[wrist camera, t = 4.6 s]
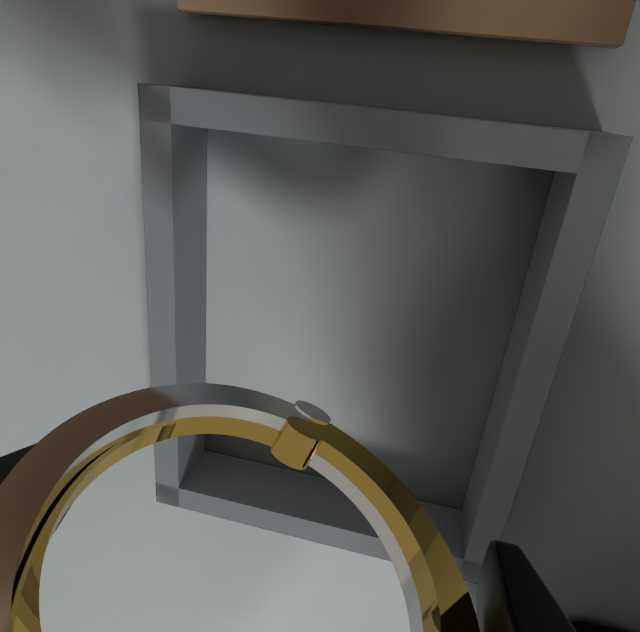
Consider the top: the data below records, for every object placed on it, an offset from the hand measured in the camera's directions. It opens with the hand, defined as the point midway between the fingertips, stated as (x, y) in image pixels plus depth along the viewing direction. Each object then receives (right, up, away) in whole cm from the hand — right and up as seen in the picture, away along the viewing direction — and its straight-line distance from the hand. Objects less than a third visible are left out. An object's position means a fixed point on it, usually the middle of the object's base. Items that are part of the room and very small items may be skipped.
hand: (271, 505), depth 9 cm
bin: (+2, +3, +6) cm, 7 cm away
